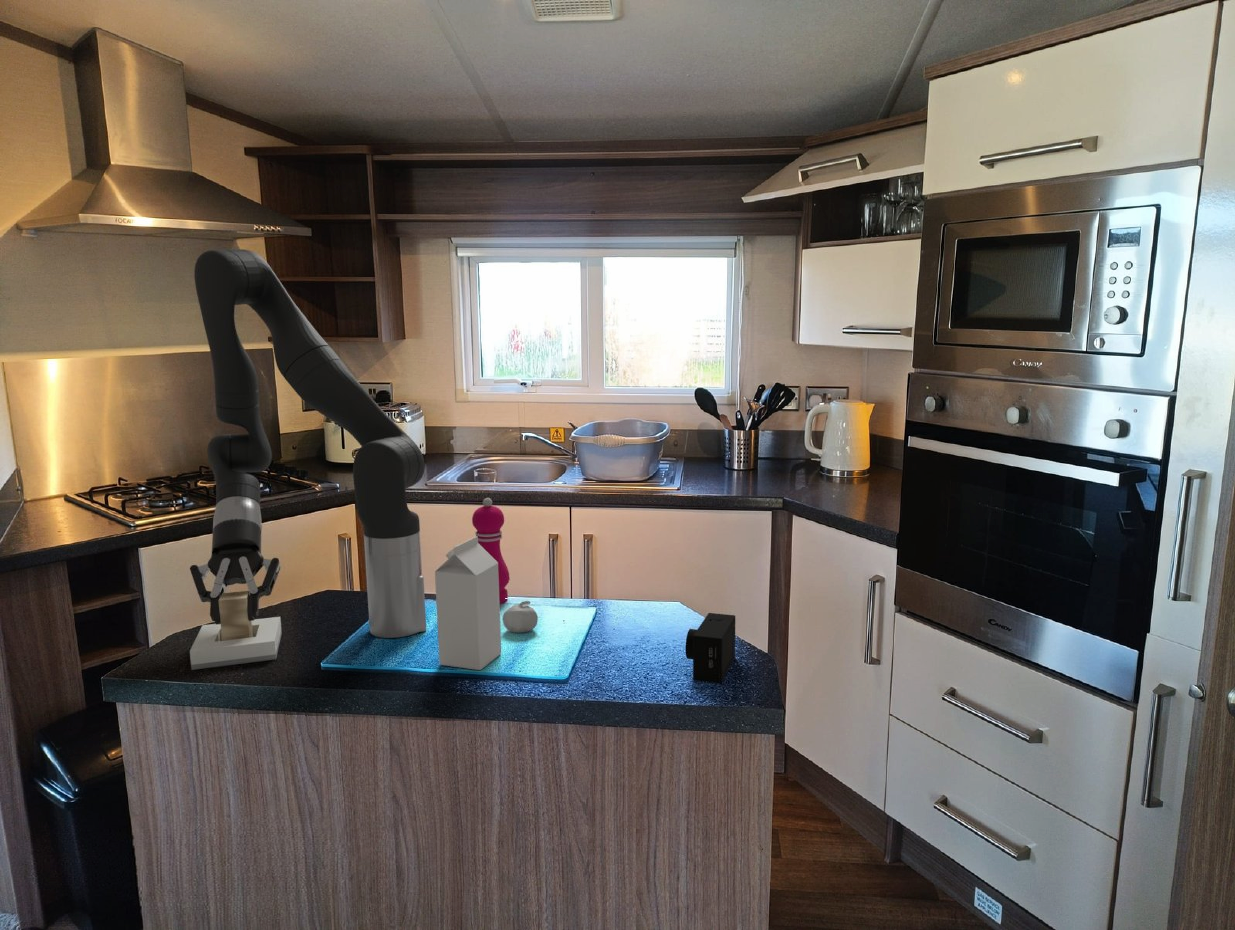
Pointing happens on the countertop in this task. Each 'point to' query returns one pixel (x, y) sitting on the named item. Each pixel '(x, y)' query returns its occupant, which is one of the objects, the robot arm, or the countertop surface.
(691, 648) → the digital camera
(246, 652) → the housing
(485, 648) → the milk carton
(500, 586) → the pepper mill
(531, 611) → the garlic
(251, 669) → the countertop surface
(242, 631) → the block
